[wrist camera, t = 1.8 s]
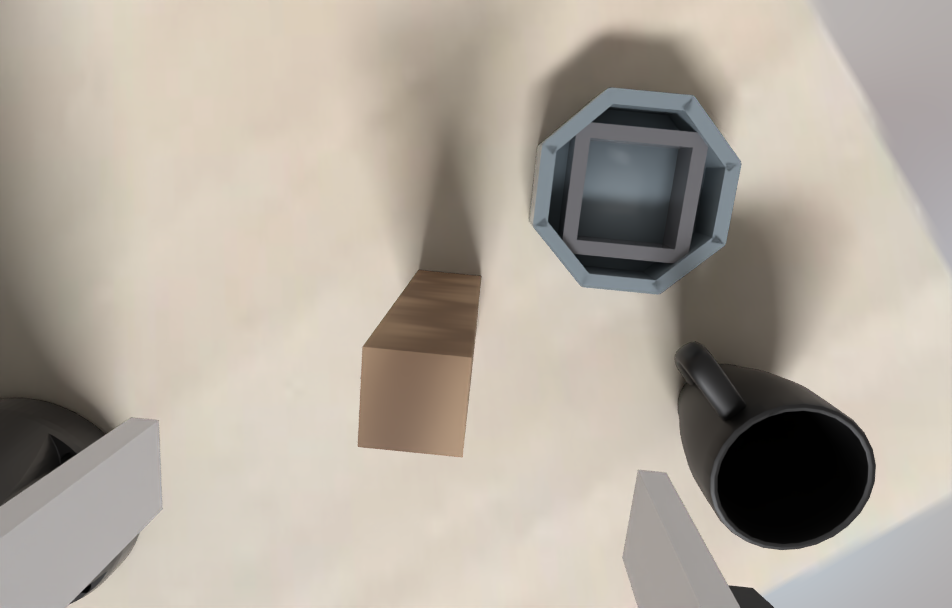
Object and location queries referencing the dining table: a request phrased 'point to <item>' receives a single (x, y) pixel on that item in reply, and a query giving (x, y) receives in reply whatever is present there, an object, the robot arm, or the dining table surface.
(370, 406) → the wooden post
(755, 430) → the mug
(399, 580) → the dining table surface
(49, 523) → the robot arm
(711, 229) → the octagonal peg hole ring
